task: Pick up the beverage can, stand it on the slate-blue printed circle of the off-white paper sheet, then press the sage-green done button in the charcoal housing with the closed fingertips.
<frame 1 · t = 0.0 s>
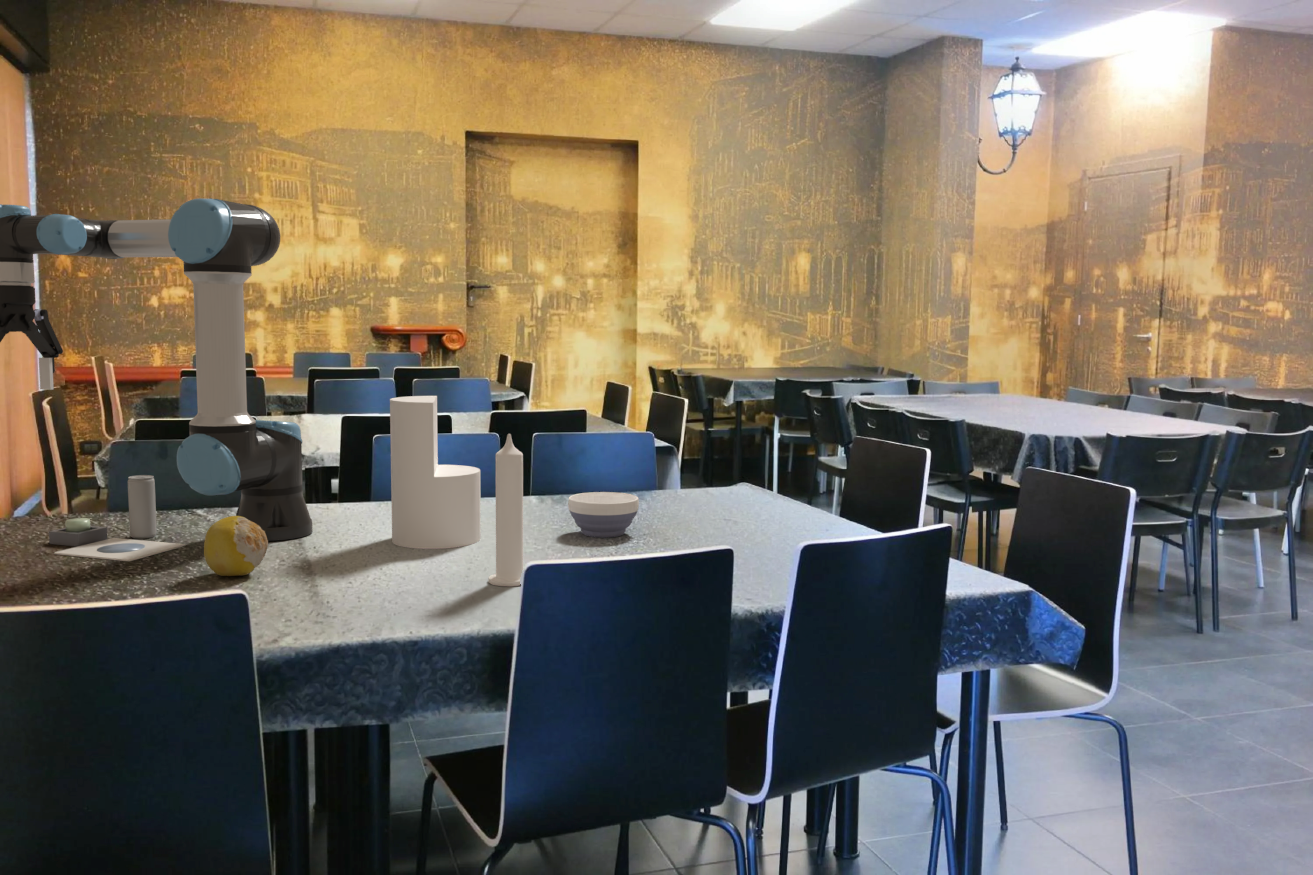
hand: (18, 391, 216), 28 cm above the table, fingers open, 13 cm apart
done button: (77, 525, 208), point 3 cm above the table, slide at 0.0 cm
paper sheet: (121, 549, 202), on the table
fruit: (237, 576, 183), on the table
beverage can: (143, 537, 213), on the table
white notched round column: (436, 540, 214), on the table
button housing: (78, 541, 208), on the table
bowl: (603, 534, 222), on the table
candle: (509, 582, 181), on the table
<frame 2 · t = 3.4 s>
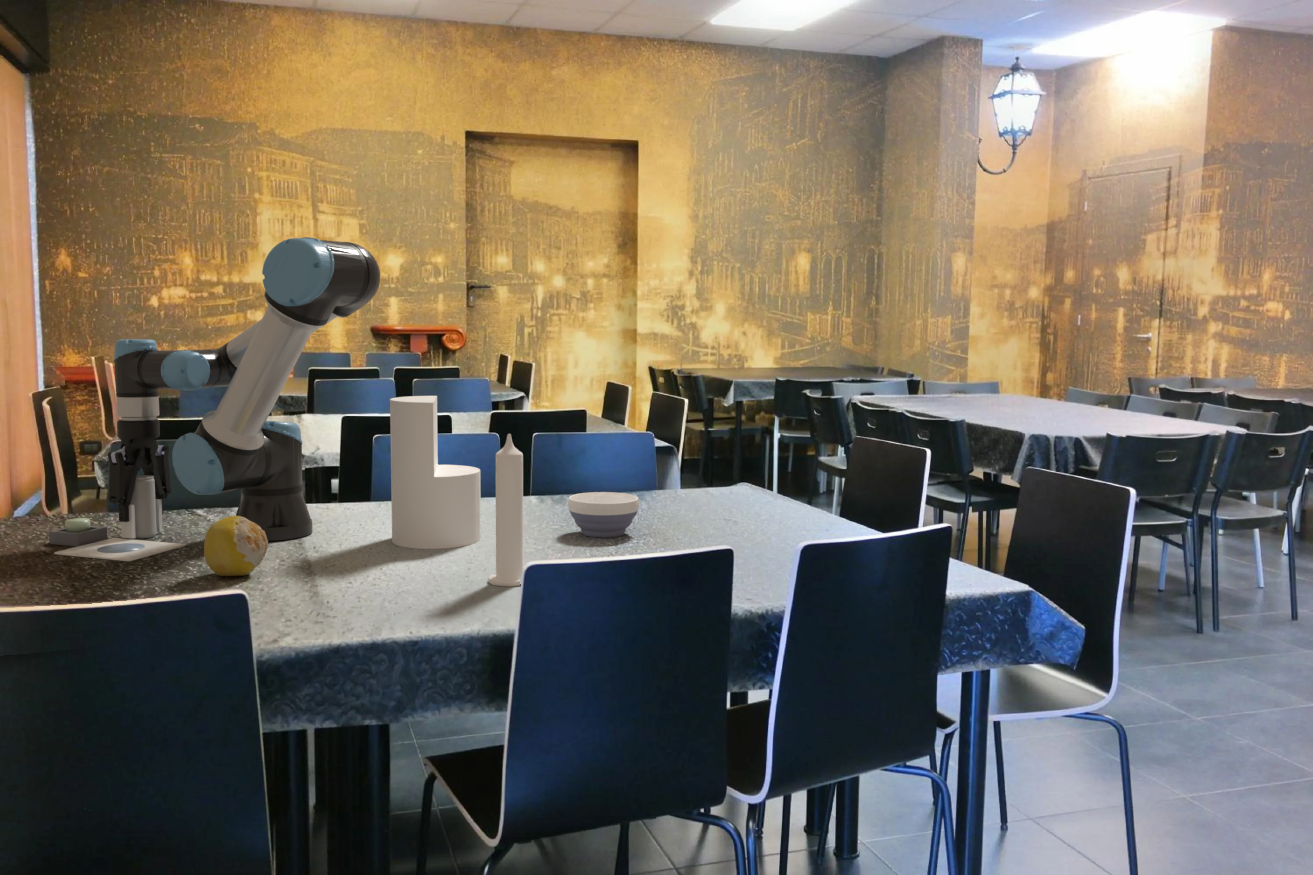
hand: (142, 534, 213), 1 cm above the table, fingers open, 6 cm apart
nothing on the table moved.
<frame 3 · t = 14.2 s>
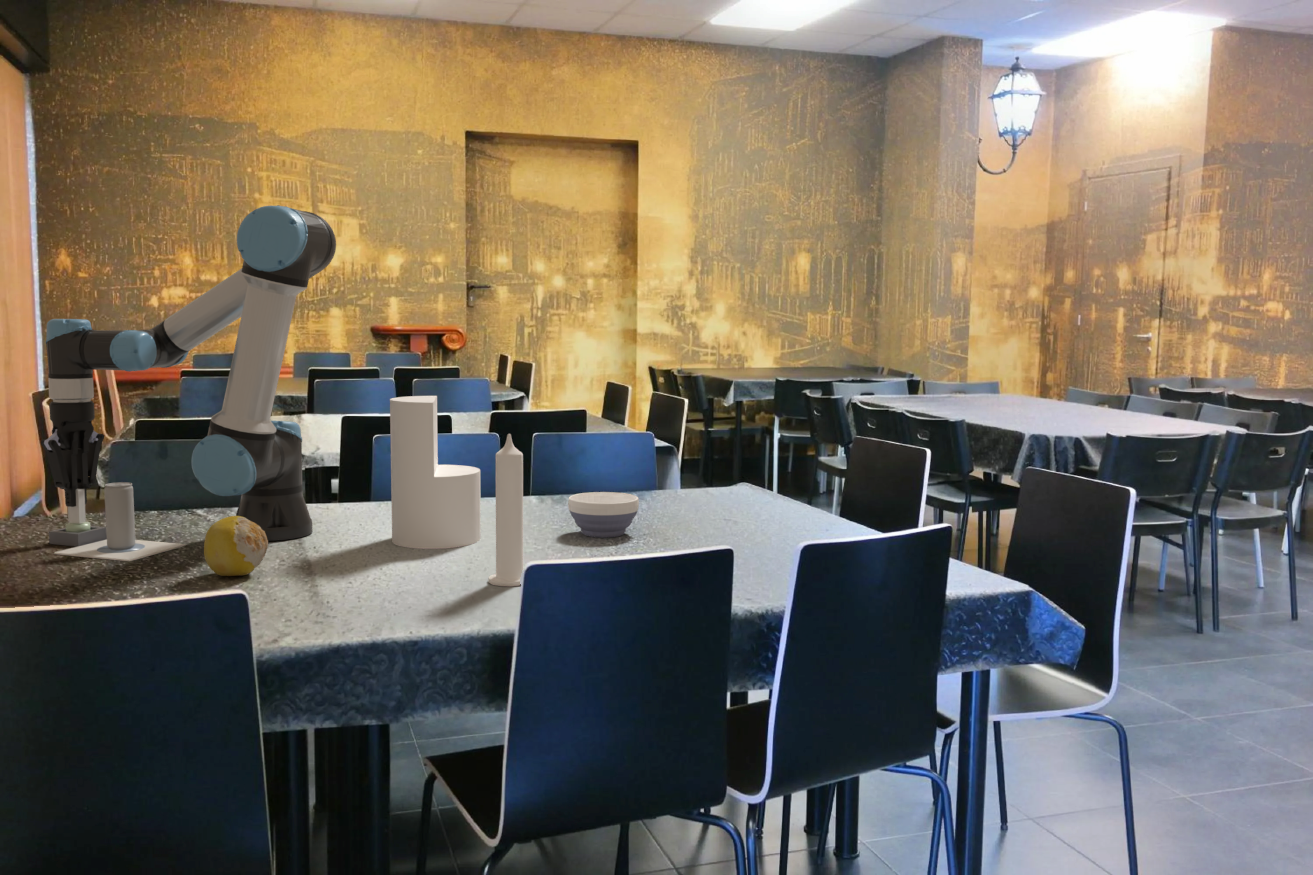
hand: (77, 522, 208), 4 cm above the table, fingers closed
done button: (78, 528, 208), point 3 cm above the table, slide at 0.7 cm, touching gripper
beverage can: (121, 548, 202), resting on paper sheet
everything else where it was.
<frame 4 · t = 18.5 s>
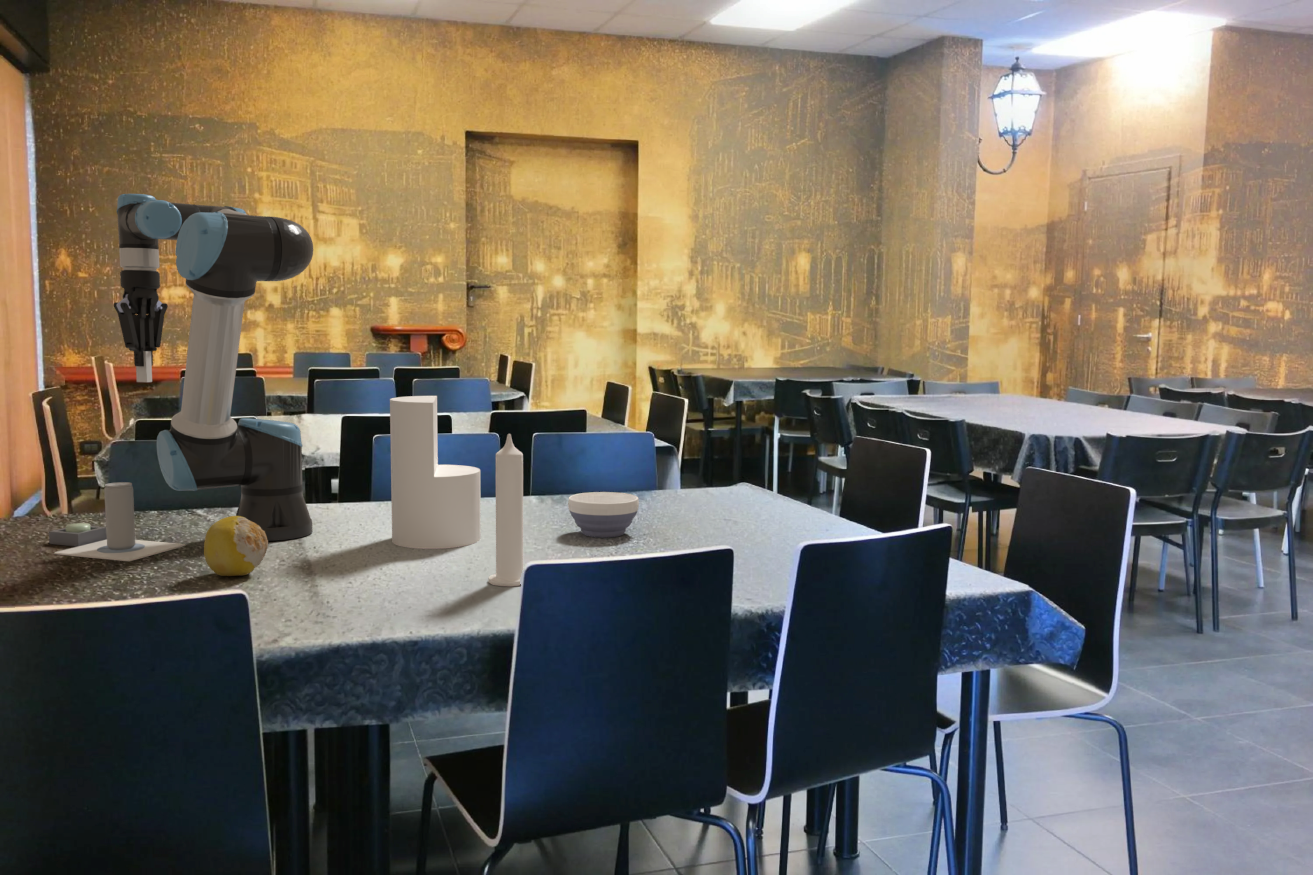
hand: (144, 381, 229), 29 cm above the table, fingers closed
done button: (78, 530, 208), point 2 cm above the table, slide at 1.0 cm
everything else where it was.
at the end: beverage can 0.1 cm from the paper sheet (horizontally); beverage can tilted 0°; done button slide at 1.0 cm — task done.
